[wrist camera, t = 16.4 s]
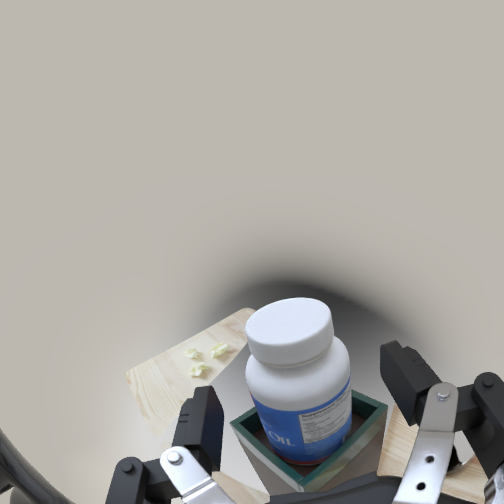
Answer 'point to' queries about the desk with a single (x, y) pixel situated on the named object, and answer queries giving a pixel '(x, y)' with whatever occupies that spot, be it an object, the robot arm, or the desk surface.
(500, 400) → the robot arm
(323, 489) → the stand
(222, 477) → the desk surface
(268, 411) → the pill bottle
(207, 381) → the desk surface
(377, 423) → the socket
